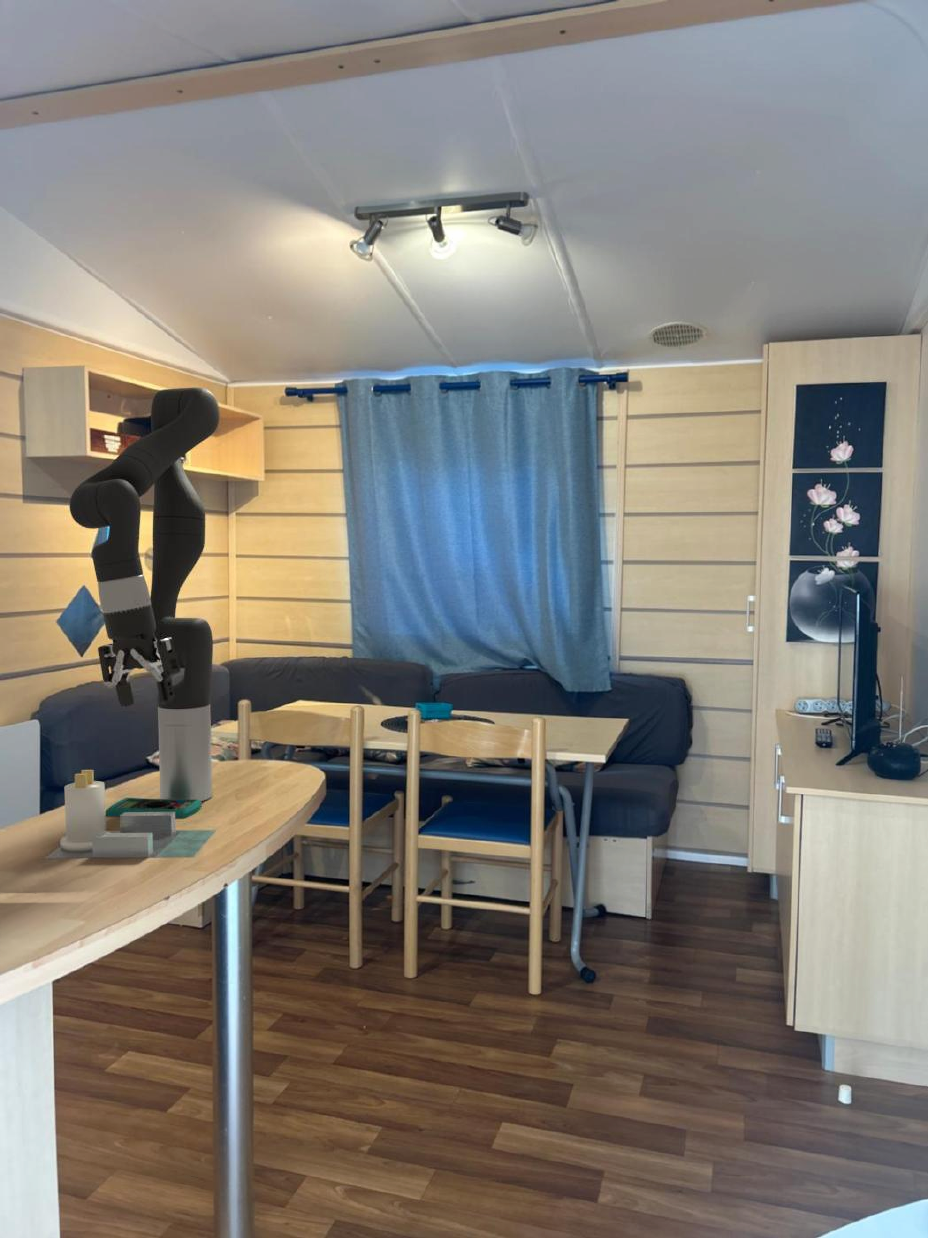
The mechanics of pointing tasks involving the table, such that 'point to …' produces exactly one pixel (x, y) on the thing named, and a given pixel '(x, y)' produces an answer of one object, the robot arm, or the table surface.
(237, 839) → the table surface
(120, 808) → the digital multimeter
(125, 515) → the robot arm
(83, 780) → the plug
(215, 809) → the table surface
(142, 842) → the housing
